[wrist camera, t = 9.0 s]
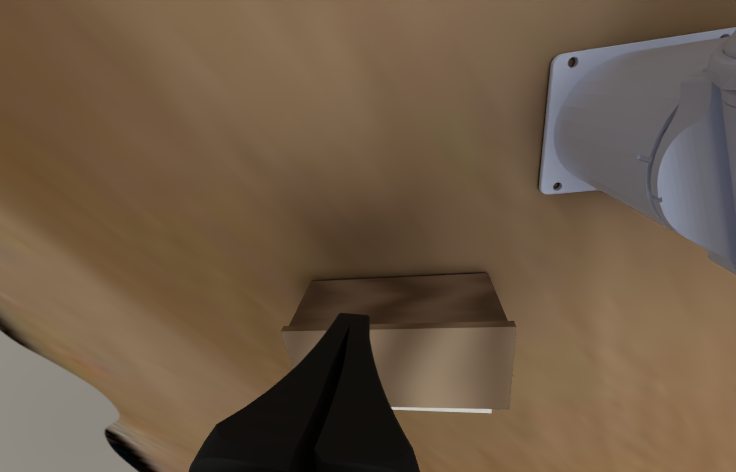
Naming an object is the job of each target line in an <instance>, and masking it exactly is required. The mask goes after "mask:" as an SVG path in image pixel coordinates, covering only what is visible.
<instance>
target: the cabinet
mask: <svg viewBox="0 0 736 472" xmlns="http://www.w3.org/2000/svg"><path fill="white" fill-rule="evenodd" d="M340 313H350V314H361V315H368V316H369V317H370V342H371V348H372V353H373V357H374V361H375V365H376V368H377V372H378V375H379V378H380V381H381V384H382V387H383V389H384V392H385V394H386V397H387V399H388V402H389V404H390V406H391V407H418V408H465V409H509V408H510V396H511V384H512V372H513V360H514V348H515V336H516V325H515V323H514V321H508V320H507V318H506V316H505V313H504V311H503V308H502V306H501V304H500V301H499V299H498V296H497V294H496V292H495V289H494V287H493V284H492V282H491V280H490V277H489V275H488V273H478V274H457V275H435V276H414V277H393V278H372V279H351V280H330V281H311V283H310V285H309V287H308V289H307V291H306V293H305V295H304V297H303V299H302V301H301V303H300V305H299V307H298V309H297V311H296V313H295V315H294V317H293V319H292V321H291V323H290V325H289V326H284V327H283V328H282V330H281V333H282V336H283V339H284V343H285V346H286V349H287V352H288V355H289V358H290V361H291V364H292V367H293V369H294V368H295V367H296V366H297V365H298V364H299V363H300V362H301V361H302V360H303V359H304V357H305V356H306V355H307V354H308V353H309V352H310V351H311V350H312V349H313V348H314V346H315V345H316V344H317V343H318V341H319V340H320V339H321V338H322V337H323V335H324V334H325V333H326V331H327V330H328V329H329V327H330V326H331V325H332V323H333V322H334V320H335V319H336V317H337V316H338V314H340Z"/></svg>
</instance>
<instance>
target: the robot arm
mask: <svg viewBox="0 0 736 472" xmlns="http://www.w3.org/2000/svg"><path fill="white" fill-rule="evenodd" d="M721 36H723V38H720V37H721ZM572 57H573V58H574V59H575V64H574V65H573V66H572V67H571V68H570V67H569V66H568V61H569V59H570V58H572ZM555 183H559V184H560V185H559V187H558V188H555V189H553V186H554V184H555ZM539 190H540V191H541V192H542V193H544V194H560V193H572V192H584V191H596V190H600V191H602V192H604V193H606V194H607V195H609V196H611V197H613V198H615V199H616V200H618V201H620V202H622V203H624V204H625V205H627V206H629V207H631V208H633V209H634V210H636V211H638V212H640V213H642V214H644V215H645V216H647V217H649V218H651V219H653V220H654V221H656V222H658V223H660V224H662V225H663V226H665V227H667V228H669V229H671V230H673V231H674V232H676V233H679V234H680V235H682V236H683V237H685V238H687V239H689V240H691V241H692V242H694V243H696V244H698V245H700V246H702V247H704V248H705V249H706V251H707V252H708V255H709V258H710V260H712V261H713V262H715V263H717V264H719V265H720V266H722V267H724V268H725V269H727V270H729V271H731V272H732V273H734V274H736V27H733V28H727V29H720V30H714V31H707V32H701V33H694V34H687V35H681V36H674V37H668V38H661V39H655V40H648V41H642V42H635V43H628V44H622V45H615V46H609V47H602V48H596V49H589V50H583V51H576V52H570V53H563V54H560V55H557V56H556V57H555V58H554V59H553V60H552V63H551V67H550V77H549V88H548V98H547V108H546V118H545V128H544V138H543V149H542V159H541V169H540V179H539ZM189 472H420V470H419V467H418V464H417V460H416V457H415V454H414V451H413V448H412V446H411V444H410V443H409V441H408V439H407V438H406V436H405V434H404V432H403V430H402V429H401V427H400V425H399V423H398V421H397V419H396V417H395V415H394V413H393V410H392V408H391V406H390V404H389V402H388V399H387V397H386V394H385V392H384V389H383V387H382V384H381V381H380V378H379V375H378V372H377V368H376V365H375V361H374V357H373V353H372V348H371V342H370V317H369V316H368V315H361V314H350V313H340V314H338V316H337V317H336V319H335V320H334V322H333V323H332V325H331V326H330V327H329V329H328V330H327V331H326V333H325V334H324V335H323V337H322V338H321V339H320V340H319V341H318V343H317V344H316V345H315V346H314V348H313V349H312V350H311V351H310V352H309V353H308V354H307V355H306V356H305V357H304V359H303V360H302V361H301V362H300V363H299V364H298V365H297V366H296V367H295V368H294V369H293V370H292V371H290V372H289V373H288V374H287V375H286V376H285V377H284V378H283V379H281V380H280V381H279V382H278V383H277V384H276V385H274V386H273V387H272V388H271V389H269V390H268V391H267V392H266V393H264V394H263V395H261V396H260V397H259V398H257V399H256V400H254V401H253V402H252V403H250V404H249V405H247V406H246V407H244V408H243V409H241V410H240V411H238V412H236V413H235V414H233V415H231V416H230V417H228V418H226V419H225V420H223V421H221V422H220V423H218V424H216V426H215V427H214V429H213V430H212V432H211V433H210V434H209V436H208V437H207V439H206V440H205V442H204V443H203V445H202V447H201V448H200V450H199V452H198V454H197V455H196V457H195V459H194V461H193V462H192V464H191V466H190V469H189Z"/></svg>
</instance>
